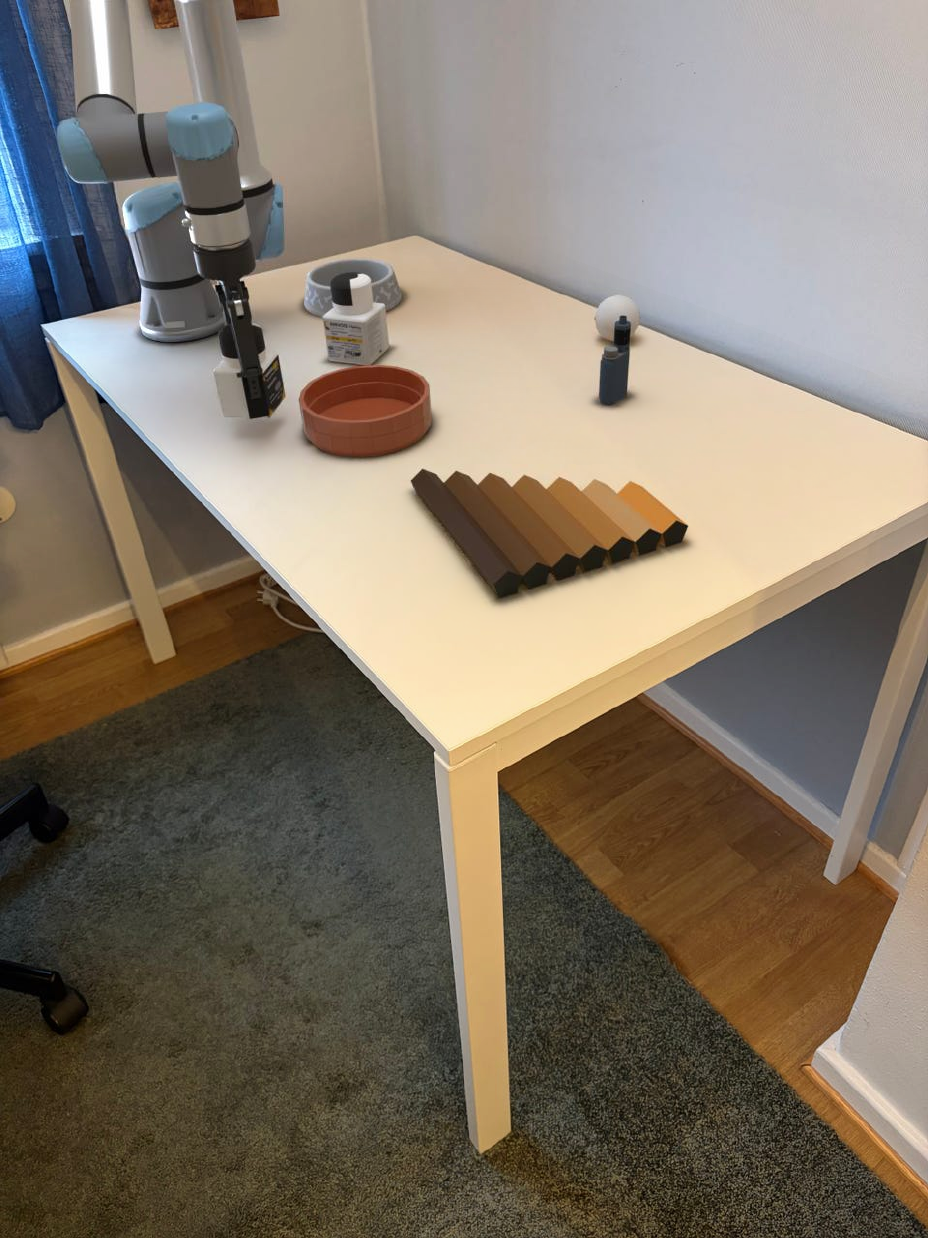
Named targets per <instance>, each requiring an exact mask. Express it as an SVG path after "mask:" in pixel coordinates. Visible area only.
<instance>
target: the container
mask: <svg viewBox="0 0 928 1238" xmlns="http://www.w3.org/2000/svg"><path fill="white" fill-rule="evenodd" d="M330 288H331V296H332V303H333V307H334V308H332V309H331V310H330V311H328V312H327V313H326V314H325V315H323V317H322V323H323V330H324V331H323V332H324V338H325V346H326V350H327V352H326V353H327V359H328V361H329V362H335V363H344V364H352V365H357V366H366V365H373V363H374V362H375V361H377V360H378V359H379V358H380V357H381V356H382V355H383V354H384V353H385V352H386V351H388V350H389V349H390V340H389V330H388V320H387V311H386V309H385V304H383V303H373V294H372V284H371V279H370V277H369V276H367V275H365V274H362V273H358V272H348V273H343V274H340V275H338V276H336V277H334V278H333V279H332V280H331V282H330Z"/></svg>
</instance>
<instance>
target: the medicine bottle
mask: <svg viewBox="0 0 928 1238" xmlns="http://www.w3.org/2000/svg"><path fill="white" fill-rule="evenodd" d="M252 327H253V331H254V336H255V341H256V346H257V350H258V355H259V360H260V364H261V368H262V369H263V374H262V379H263V384H264V390H265V395H266V400H267V405H268V411H269V416H265V417H260V418H254V419H256V420H270V419H271V417H272V416H273V414H274V413H275V412H276V411H277V409H278V408H279V406H280V405H281V404H282V402H283V401H284V400H285V398H286V397H287V395H286V391H285V384H284V379H283V373H282V368H281V361H280V356H279V353H278V352H277V351H267V349H266V343H265V338H264V333H263V328H262V327H261V326H260V325H259V324H257V323H256V322H252ZM217 339H218V344H219V348H220V353H221V358H222V360H221V361H220V363H219V364H218V365H217V366H216V367H215V368H214V369H213V371H212V375H213V377H214V383H215V388H216V393H217V397H218V401H219V405H220V409H221V415H222V417H224V418H237V419H238V418H239V419H250V417H249V413H248V408H247V403H246V398H245V393H244V388H243V383H242V379H241V377H240V378H237V375H236V373H239V372H241V367H240V363H239V359H238V354H237V350H236V346H235V342H234V337H233V333H232V329H231V326H230V325H226V326H225V327H223V328H221V329H220V330H219V331H218V333H217Z"/></svg>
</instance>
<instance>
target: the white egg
mask: <svg viewBox="0 0 928 1238" xmlns="http://www.w3.org/2000/svg"><path fill="white" fill-rule="evenodd" d="M593 307H594V308H597V309H596V311H595V316H594V319H593V320H594V321H595V328H596V330H597V332H598V334H599V335H600V336H602V337H603V338H604V339H606V340H607V341H611V342H614V328H615V327H614V325H615V322H616V321H619V317H620V316H623V315H624V316H627V321H629V322H631V333H630V337H632V336H633V335H634V334H635V333H636V331H637V330H638V327H639V326H640V322H641V321H640V320H641V315H640V309H639V308H638V305H637V303H636V302H635V301H634V300H633V299H631V297H629V296H625V295H624V294H614V295H611V296H609V297H606V298H605V299H604V300H603V301H601V302H600V304H599V306H595V305H593Z"/></svg>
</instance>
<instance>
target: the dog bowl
mask: <svg viewBox="0 0 928 1238" xmlns="http://www.w3.org/2000/svg"><path fill="white" fill-rule="evenodd" d="M348 272H358V273H362V274H365V275H367V276H369V277H370V279H371V284H372V294H373V303H383V304H385V309H386V312H389V311H391V310H392V309H394V308H395V307H397V306H398V305H399V304H400V303H401V302H402V300H403V293H402V291H401V288H400V285H399V283H398V278H397V275H396V272H395V269H394V267H393V266H392V265H391V264H389V263H387V262H386V261H383V260H380V259H374V258H366V257H365V258H363V257H357V258H356V257H355V258H343V259H337V260H333V261H328V262H325V263H323V264H320V265H318V266H316V267H314V268H313V269H311V270H310V271H308V273H307V275H306V281H305V292H304V300H303V301H304V303H303V305H304V308H305V309H306V311H308V312H309V313H310V314H312V315H314V316H317V317H320V318H323V315H325V314H326V313H327V312H328V311H330V310H331V309H332V308H334V307H333V303H332V296H331V288H330V282H331V280H332V279H333V278H334V277H336V276H338V275H340V274H343V273H348Z"/></svg>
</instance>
